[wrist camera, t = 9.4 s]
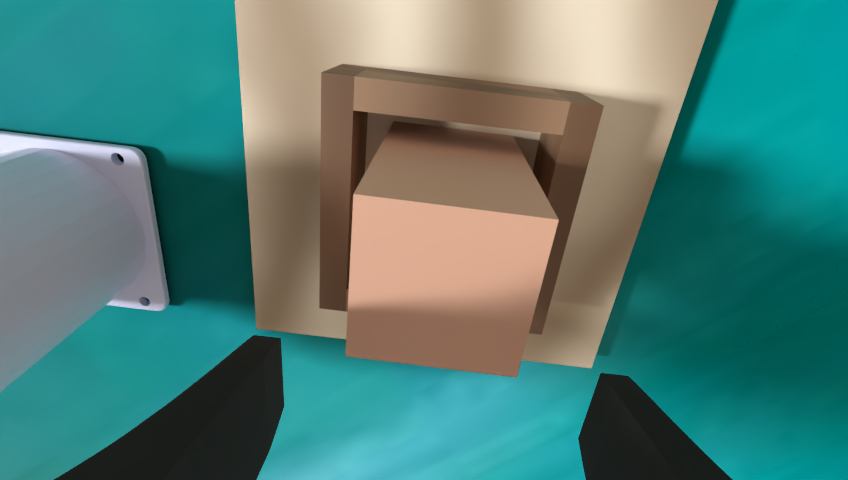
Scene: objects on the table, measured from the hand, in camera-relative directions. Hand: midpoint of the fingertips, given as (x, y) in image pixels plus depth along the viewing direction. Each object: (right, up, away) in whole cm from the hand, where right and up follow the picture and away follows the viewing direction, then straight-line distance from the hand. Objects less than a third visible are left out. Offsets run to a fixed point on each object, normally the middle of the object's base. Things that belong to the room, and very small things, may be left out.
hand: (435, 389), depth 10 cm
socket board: (+1, +6, +9) cm, 11 cm away
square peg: (+1, +6, +8) cm, 10 cm away
